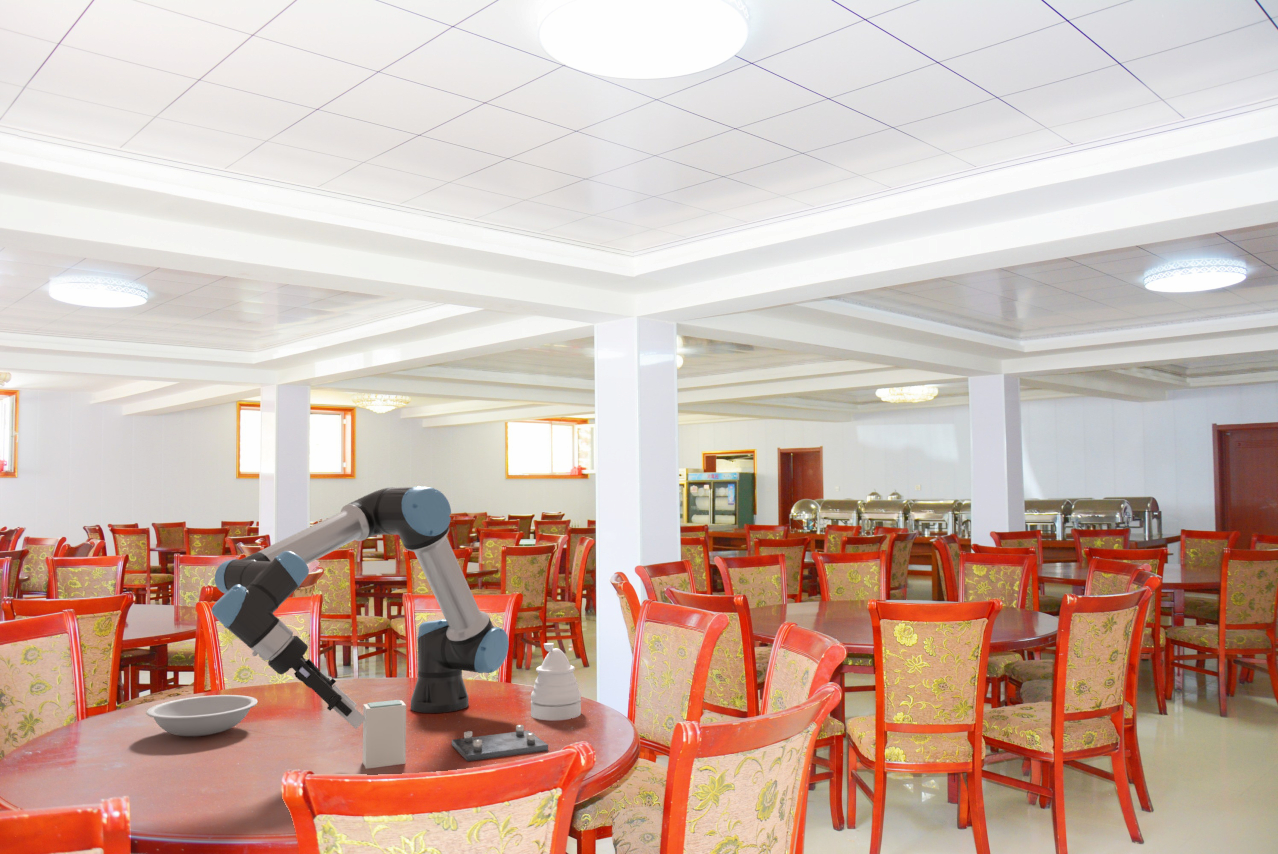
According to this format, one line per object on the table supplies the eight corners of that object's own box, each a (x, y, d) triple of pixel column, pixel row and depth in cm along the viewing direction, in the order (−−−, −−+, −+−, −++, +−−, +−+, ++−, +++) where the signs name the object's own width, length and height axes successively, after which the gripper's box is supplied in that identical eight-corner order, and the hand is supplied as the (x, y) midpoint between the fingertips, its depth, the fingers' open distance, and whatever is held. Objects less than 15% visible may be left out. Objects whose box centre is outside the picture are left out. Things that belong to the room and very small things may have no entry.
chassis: (451, 745, 200) (451, 730, 200) (528, 735, 207) (528, 721, 208) (467, 761, 187) (467, 745, 187) (548, 750, 195) (548, 735, 195)
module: (362, 762, 187) (363, 702, 188) (401, 757, 191) (401, 698, 192) (365, 768, 183) (366, 707, 184) (405, 763, 186) (406, 703, 187)
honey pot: (541, 722, 220) (541, 648, 221) (523, 712, 231) (523, 641, 232) (589, 716, 226) (588, 644, 227) (569, 706, 237) (569, 637, 238)
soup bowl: (278, 726, 218) (279, 699, 219) (193, 752, 196) (194, 721, 197) (210, 717, 228) (211, 691, 229) (121, 740, 207) (122, 711, 207)
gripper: (263, 653, 189) (335, 717, 194) (268, 673, 167) (350, 745, 172) (290, 626, 192) (361, 690, 197) (299, 642, 170) (379, 714, 175)
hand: (356, 716), depth 185 cm, fingers open, 13 cm apart
